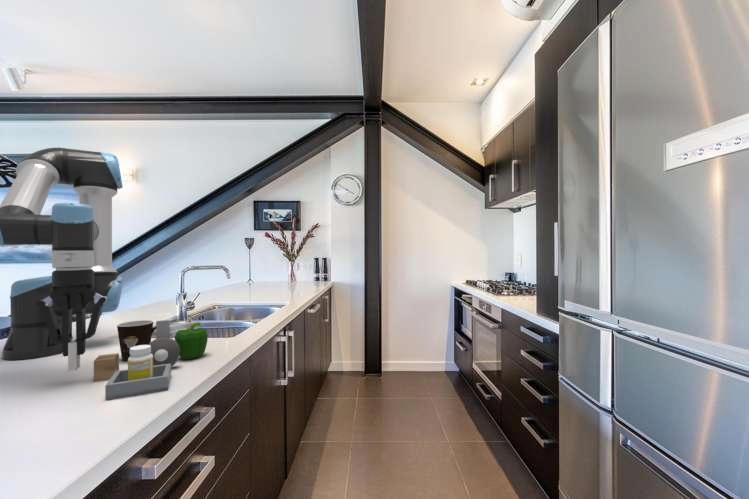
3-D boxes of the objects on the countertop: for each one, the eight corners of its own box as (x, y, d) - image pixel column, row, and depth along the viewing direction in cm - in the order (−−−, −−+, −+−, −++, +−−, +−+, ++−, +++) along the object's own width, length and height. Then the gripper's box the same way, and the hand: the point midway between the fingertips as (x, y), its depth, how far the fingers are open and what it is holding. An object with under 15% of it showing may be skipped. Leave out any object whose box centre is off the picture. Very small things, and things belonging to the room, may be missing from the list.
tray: (116, 383, 80) (116, 370, 80) (171, 375, 85) (171, 363, 85) (105, 400, 71) (105, 385, 71) (167, 390, 76) (167, 376, 76)
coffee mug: (109, 362, 96) (108, 326, 96) (134, 353, 104) (134, 320, 104) (146, 363, 94) (146, 327, 94) (169, 354, 103) (169, 320, 103)
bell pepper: (168, 362, 95) (167, 326, 95) (184, 353, 104) (183, 320, 104) (198, 361, 96) (198, 325, 96) (212, 352, 104) (212, 319, 104)
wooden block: (99, 375, 86) (99, 355, 86) (119, 372, 88) (119, 353, 88) (93, 382, 81) (93, 361, 81) (114, 379, 83) (114, 358, 83)
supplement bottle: (138, 380, 80) (137, 344, 80) (158, 380, 80) (157, 344, 80) (122, 388, 76) (122, 350, 76) (143, 388, 75) (143, 349, 75)
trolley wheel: (146, 366, 92) (145, 321, 92) (180, 362, 95) (180, 318, 95) (142, 373, 86) (142, 325, 86) (179, 368, 90) (178, 322, 90)
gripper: (29, 270, 75) (30, 379, 75) (103, 268, 81) (104, 369, 81) (43, 269, 82) (44, 368, 82) (111, 267, 88) (112, 360, 88)
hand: (74, 368), depth 82 cm, fingers closed
